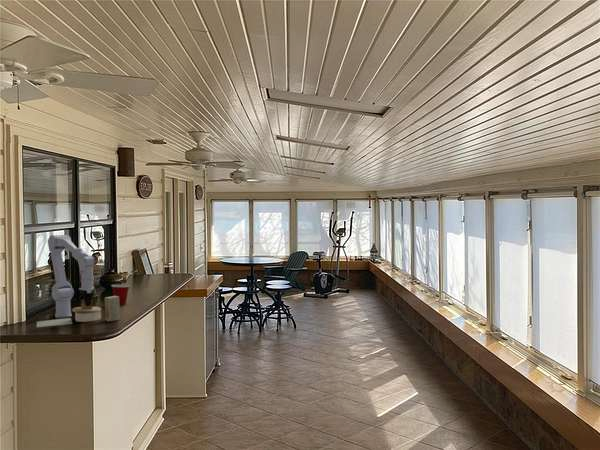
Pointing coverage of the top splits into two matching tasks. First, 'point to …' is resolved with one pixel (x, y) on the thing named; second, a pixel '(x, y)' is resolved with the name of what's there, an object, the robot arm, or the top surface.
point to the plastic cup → (121, 292)
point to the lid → (86, 308)
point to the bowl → (87, 316)
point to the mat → (54, 322)
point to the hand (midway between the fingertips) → (87, 305)
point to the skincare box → (112, 308)
